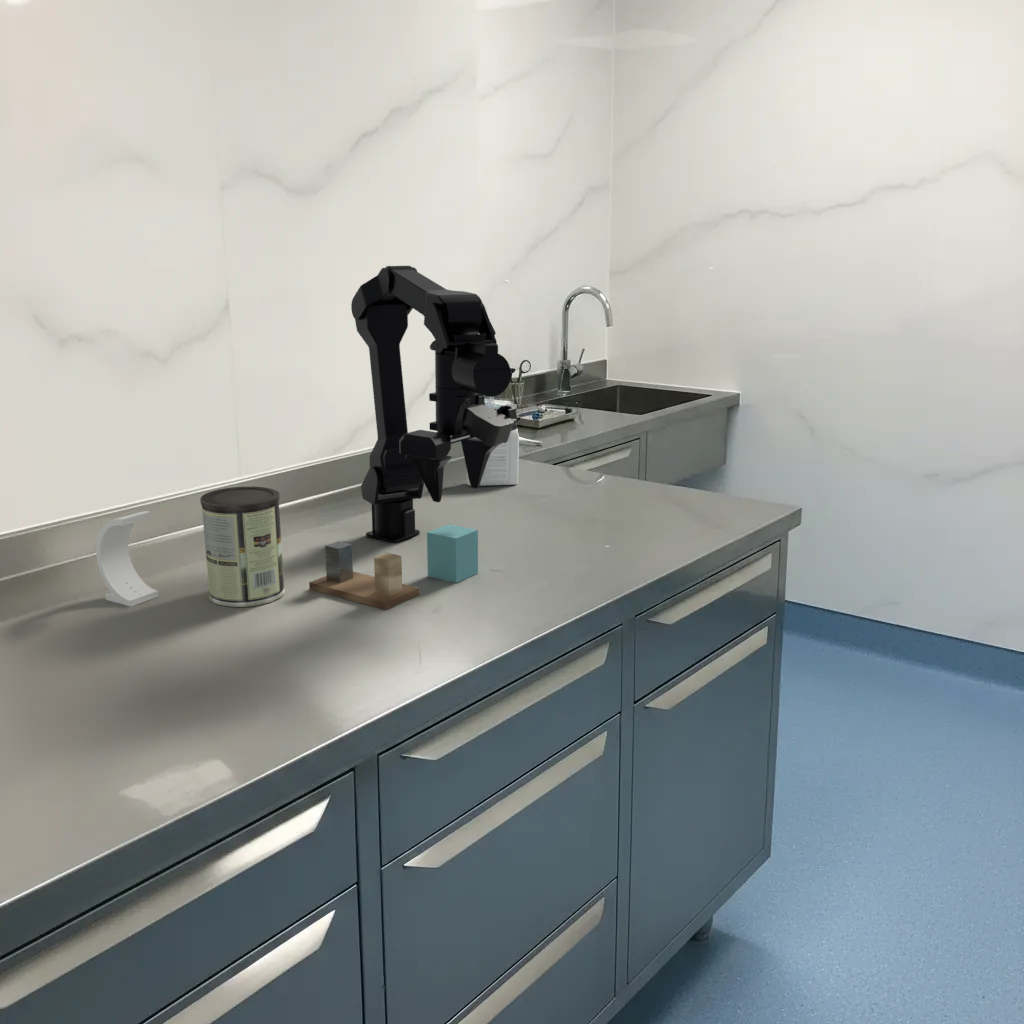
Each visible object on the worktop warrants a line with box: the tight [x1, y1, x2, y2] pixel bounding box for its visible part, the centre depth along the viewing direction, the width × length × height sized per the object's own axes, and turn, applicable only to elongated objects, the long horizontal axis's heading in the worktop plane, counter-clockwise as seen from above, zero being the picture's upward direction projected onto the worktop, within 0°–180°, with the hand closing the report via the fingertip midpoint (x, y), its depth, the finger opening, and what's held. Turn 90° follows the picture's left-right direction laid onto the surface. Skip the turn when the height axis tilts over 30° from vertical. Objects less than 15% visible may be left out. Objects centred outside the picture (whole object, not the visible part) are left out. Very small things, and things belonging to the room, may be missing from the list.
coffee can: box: [199, 486, 286, 608], centre depth 142 cm, size 10×10×14 cm
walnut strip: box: [308, 571, 420, 611], centre depth 145 cm, size 14×7×1 cm, turn 56°
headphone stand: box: [95, 510, 159, 608], centre depth 141 cm, size 5×6×12 cm
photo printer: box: [466, 428, 520, 487], centre depth 203 cm, size 10×4×12 cm, turn 102°
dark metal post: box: [324, 540, 354, 583], centre depth 146 cm, size 3×3×5 cm
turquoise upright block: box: [426, 523, 479, 584], centre depth 151 cm, size 5×5×7 cm
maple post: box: [373, 552, 403, 596], centre depth 141 cm, size 3×3×5 cm
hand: (456, 494), depth 149 cm, fingers open, 9 cm apart
